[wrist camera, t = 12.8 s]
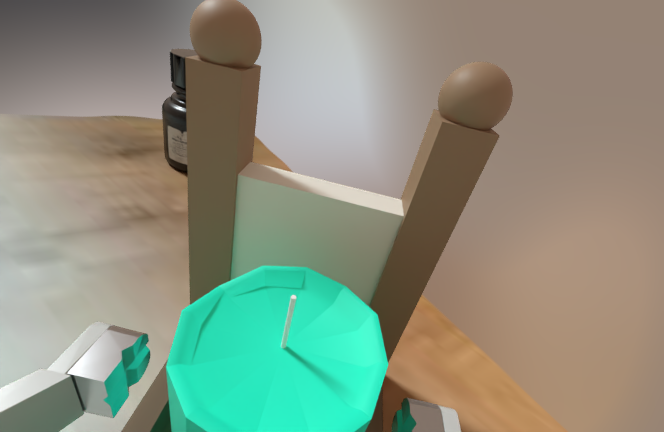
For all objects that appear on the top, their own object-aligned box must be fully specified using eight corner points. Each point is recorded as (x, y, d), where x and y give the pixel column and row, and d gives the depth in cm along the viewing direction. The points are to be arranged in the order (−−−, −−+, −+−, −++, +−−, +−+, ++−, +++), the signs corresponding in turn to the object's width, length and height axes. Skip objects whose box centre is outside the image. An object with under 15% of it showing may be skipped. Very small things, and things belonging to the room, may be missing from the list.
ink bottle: (166, 179, 35) (159, 58, 29) (156, 146, 41) (148, 41, 35) (254, 175, 40) (263, 72, 34) (233, 147, 46) (238, 55, 40)
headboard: (185, 352, 19) (173, -16, 10) (204, 321, 21) (209, -8, 12) (374, 400, 19) (539, 75, 10) (375, 364, 21) (511, 67, 12)
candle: (297, 403, 18) (348, 225, 12) (339, 545, 13) (457, 376, 7) (177, 438, 15) (163, 234, 9) (180, 628, 11) (156, 475, 5)
